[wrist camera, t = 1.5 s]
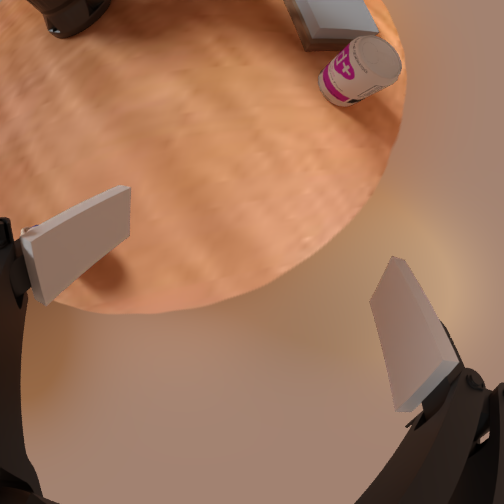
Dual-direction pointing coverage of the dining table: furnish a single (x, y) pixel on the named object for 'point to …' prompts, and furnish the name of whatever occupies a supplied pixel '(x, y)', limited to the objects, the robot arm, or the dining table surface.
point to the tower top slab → (337, 18)
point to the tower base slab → (305, 35)
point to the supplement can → (360, 71)
